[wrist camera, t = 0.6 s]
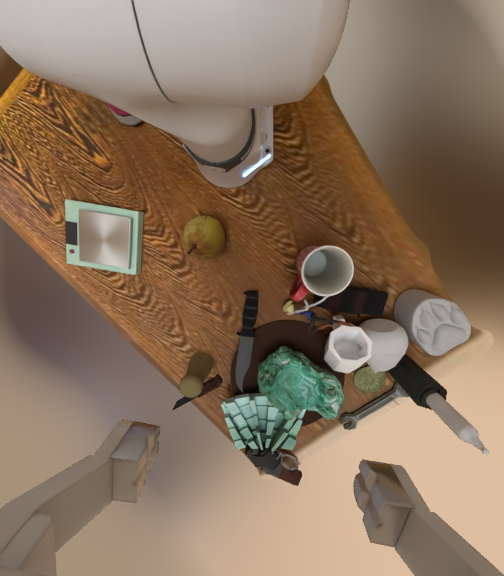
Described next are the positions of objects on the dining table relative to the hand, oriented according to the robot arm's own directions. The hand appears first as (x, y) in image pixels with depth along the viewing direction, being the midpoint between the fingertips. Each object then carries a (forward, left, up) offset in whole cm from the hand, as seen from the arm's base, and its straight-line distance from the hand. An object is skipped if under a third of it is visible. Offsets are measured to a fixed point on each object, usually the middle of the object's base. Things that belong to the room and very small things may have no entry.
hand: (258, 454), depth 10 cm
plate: (+25, +11, -47) cm, 55 cm away
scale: (-1, -36, -47) cm, 59 cm away
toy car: (+3, +21, -47) cm, 52 cm away
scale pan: (-1, -34, -44) cm, 56 cm away
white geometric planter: (+16, +22, -46) cm, 53 cm away
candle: (+18, +37, -47) cm, 63 cm away
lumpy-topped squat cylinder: (+5, +38, -47) cm, 61 cm away
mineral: (+25, +13, -44) cm, 52 cm away
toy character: (+7, +27, -42) cm, 50 cm away
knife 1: (+35, -13, -47) cm, 60 cm away
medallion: (+24, +32, -47) cm, 62 cm away
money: (+36, +8, -43) cm, 56 cm away
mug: (-2, +10, -47) cm, 48 cm away
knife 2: (+18, -3, -45) cm, 48 cm away
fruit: (-5, -13, -47) cm, 49 cm away
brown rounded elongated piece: (+27, -11, -47) cm, 56 cm away
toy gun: (+45, +12, -49) cm, 67 cm away
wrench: (+38, +28, -46) cm, 67 cm away
